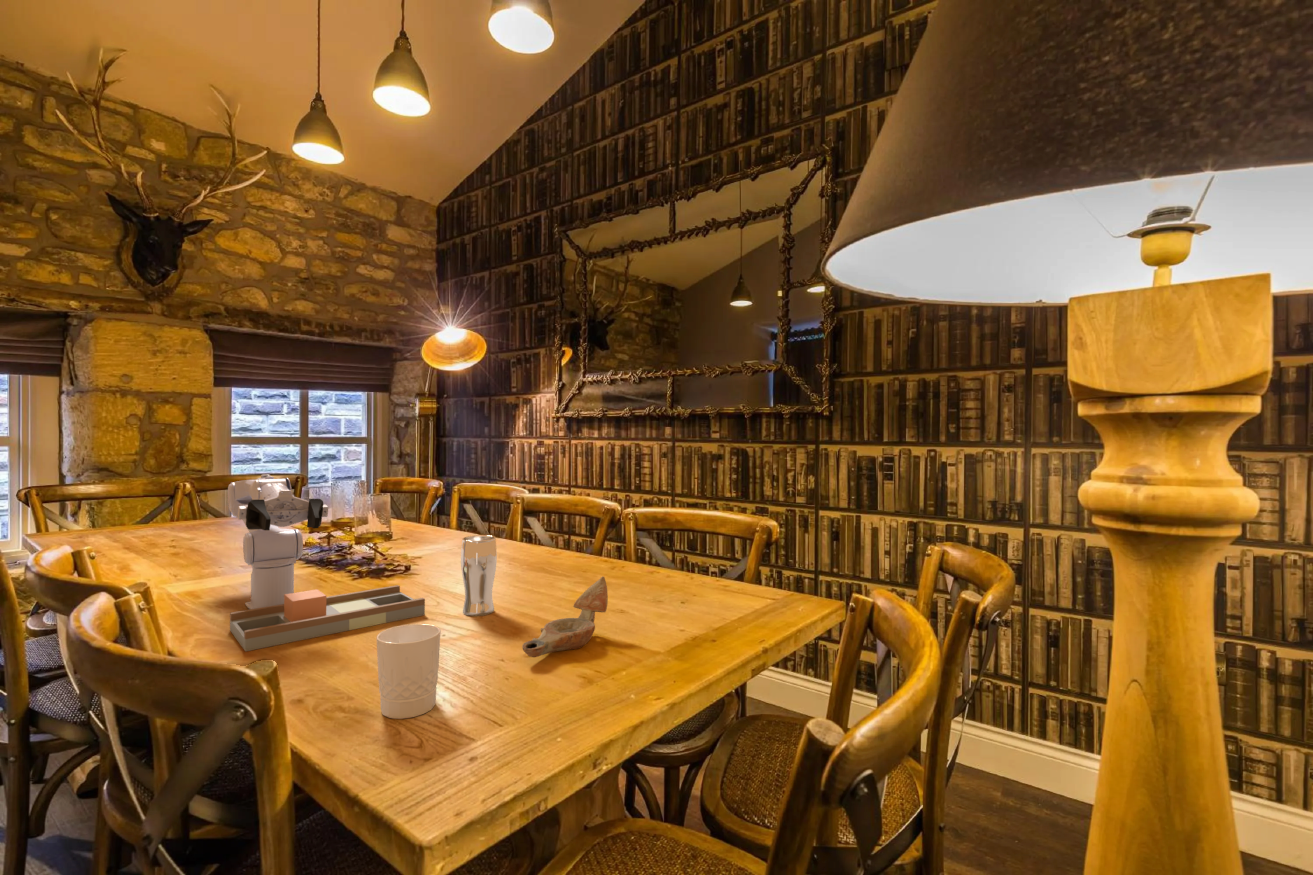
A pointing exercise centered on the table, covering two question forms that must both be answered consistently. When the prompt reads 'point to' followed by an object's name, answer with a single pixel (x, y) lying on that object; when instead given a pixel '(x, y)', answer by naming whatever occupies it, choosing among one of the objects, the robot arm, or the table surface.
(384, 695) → the white cup
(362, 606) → the grey long tray
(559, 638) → the oil lamp
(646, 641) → the table surface
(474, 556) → the beer glass
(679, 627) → the table surface
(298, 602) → the block
